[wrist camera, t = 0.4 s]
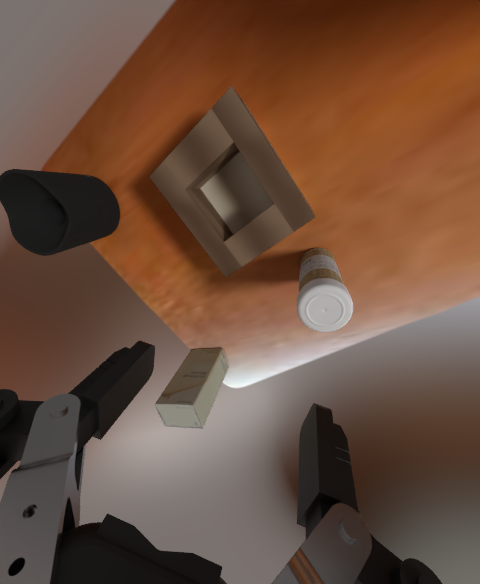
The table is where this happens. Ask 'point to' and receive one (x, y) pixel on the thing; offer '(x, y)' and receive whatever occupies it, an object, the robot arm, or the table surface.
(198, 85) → the table surface
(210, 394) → the skincare box
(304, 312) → the sprinkles bottle
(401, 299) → the table surface
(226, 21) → the table surface
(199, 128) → the socket block
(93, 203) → the pen holder
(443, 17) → the table surface
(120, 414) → the robot arm
